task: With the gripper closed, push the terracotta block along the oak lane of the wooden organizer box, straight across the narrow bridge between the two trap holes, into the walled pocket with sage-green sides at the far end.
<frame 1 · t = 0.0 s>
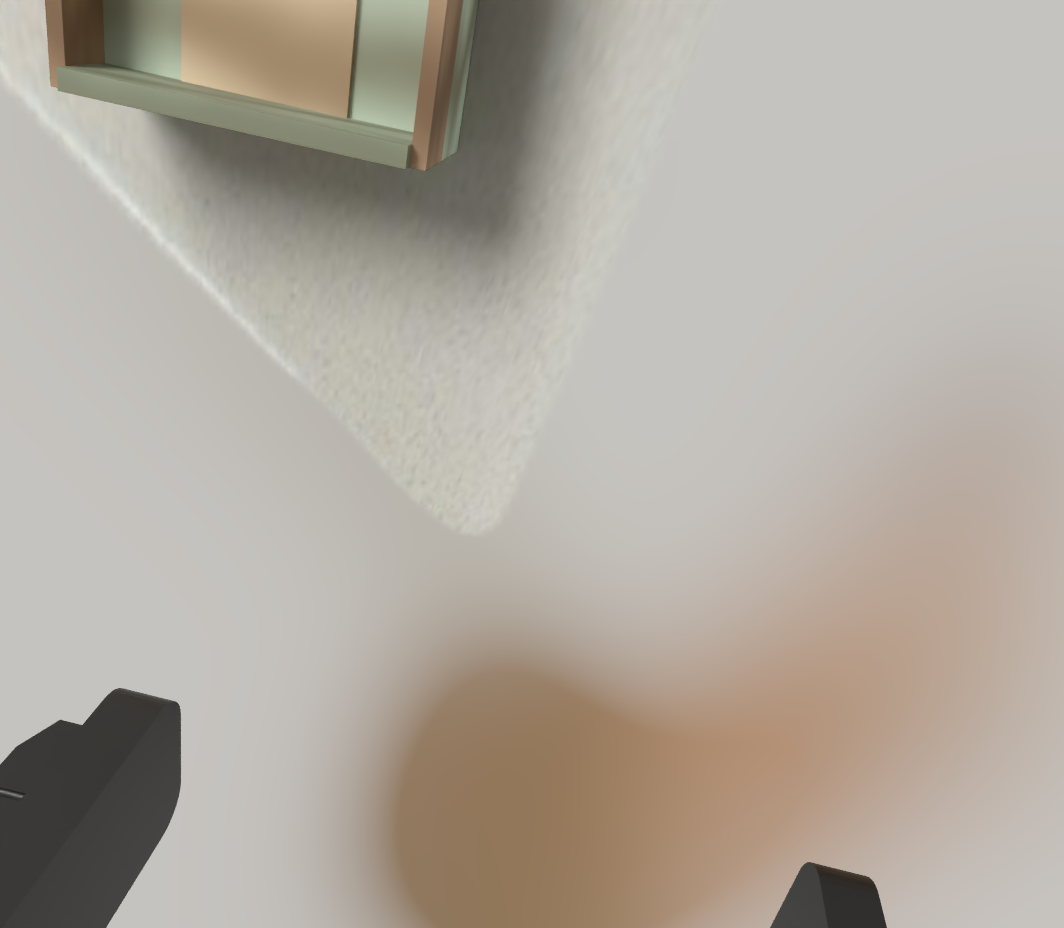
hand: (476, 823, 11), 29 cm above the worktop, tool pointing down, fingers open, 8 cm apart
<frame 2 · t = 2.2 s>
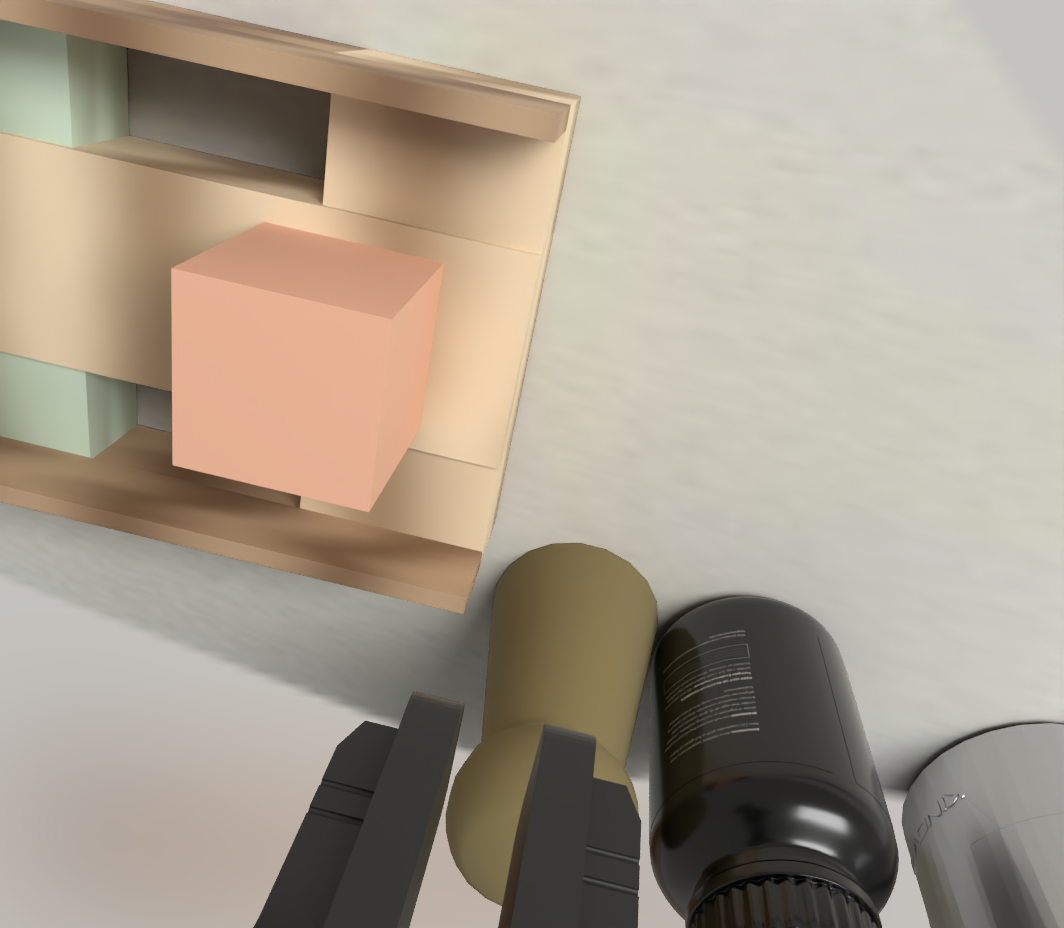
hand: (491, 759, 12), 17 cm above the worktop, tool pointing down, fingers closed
supplement bottle: (745, 662, 32), on the worktop
cork: (575, 610, 32), on the worktop
block: (345, 329, 25), point 3 cm above the worktop, touching wooden organizer box
wooden organizer box: (223, 263, 27), on the worktop
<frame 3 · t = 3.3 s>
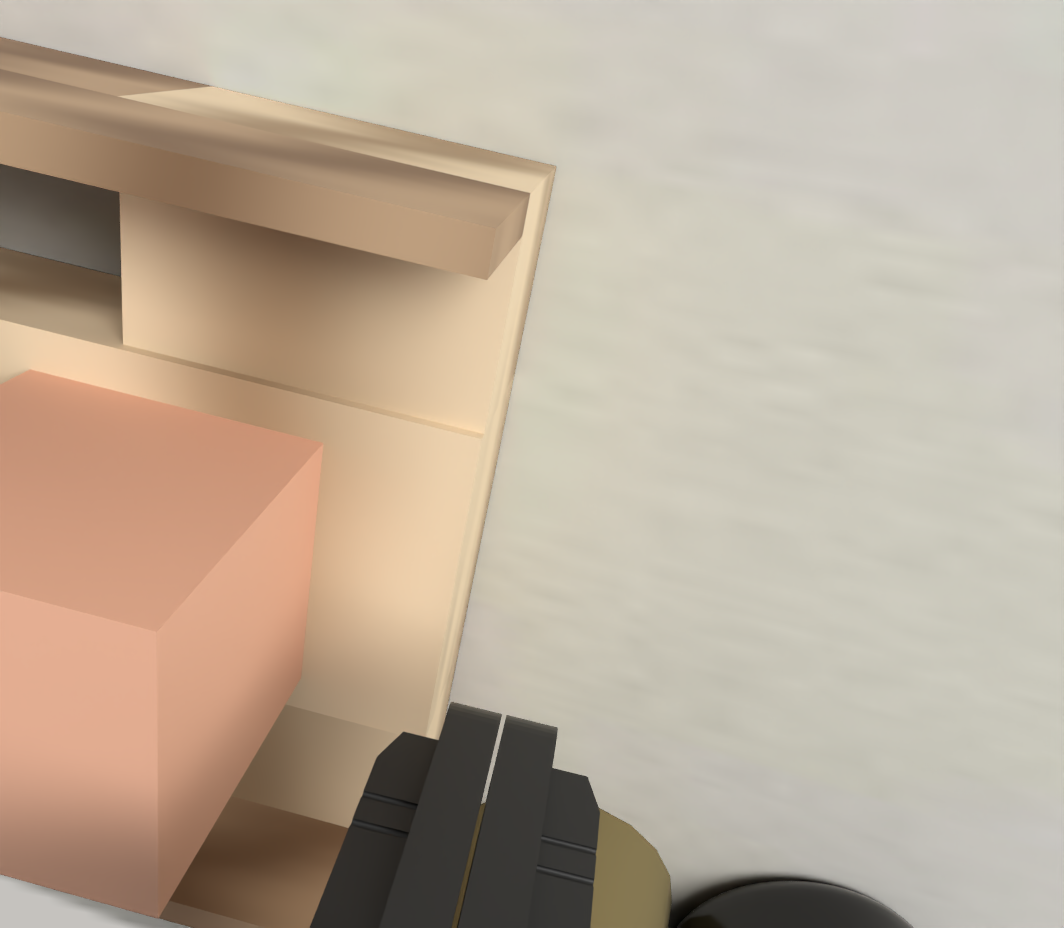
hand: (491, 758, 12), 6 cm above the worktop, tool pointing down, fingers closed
cork: (552, 876, 22), on the worktop
block: (174, 534, 15), point 3 cm above the worktop, touching wooden organizer box
wooden organizer box: (21, 402, 18), on the worktop
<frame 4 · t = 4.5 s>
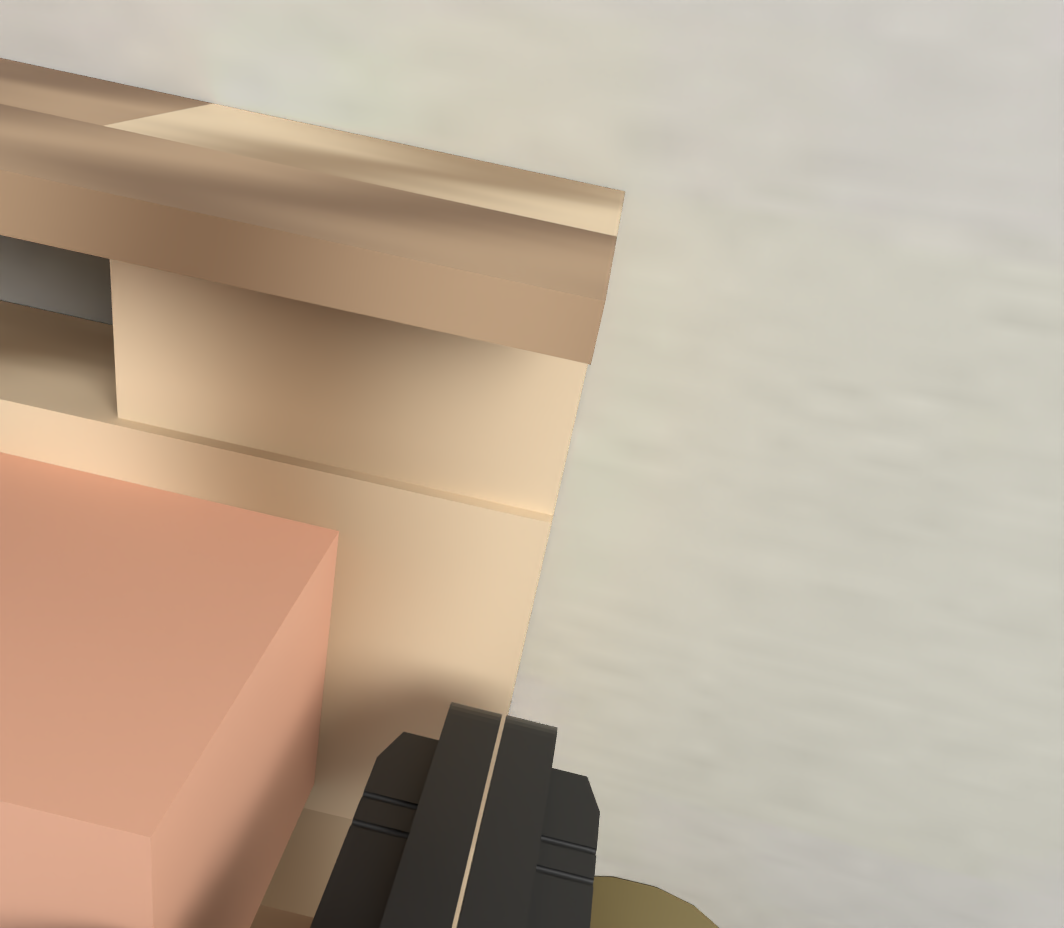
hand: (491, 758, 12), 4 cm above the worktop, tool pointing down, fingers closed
block: (164, 630, 13), point 3 cm above the worktop, touching gripper
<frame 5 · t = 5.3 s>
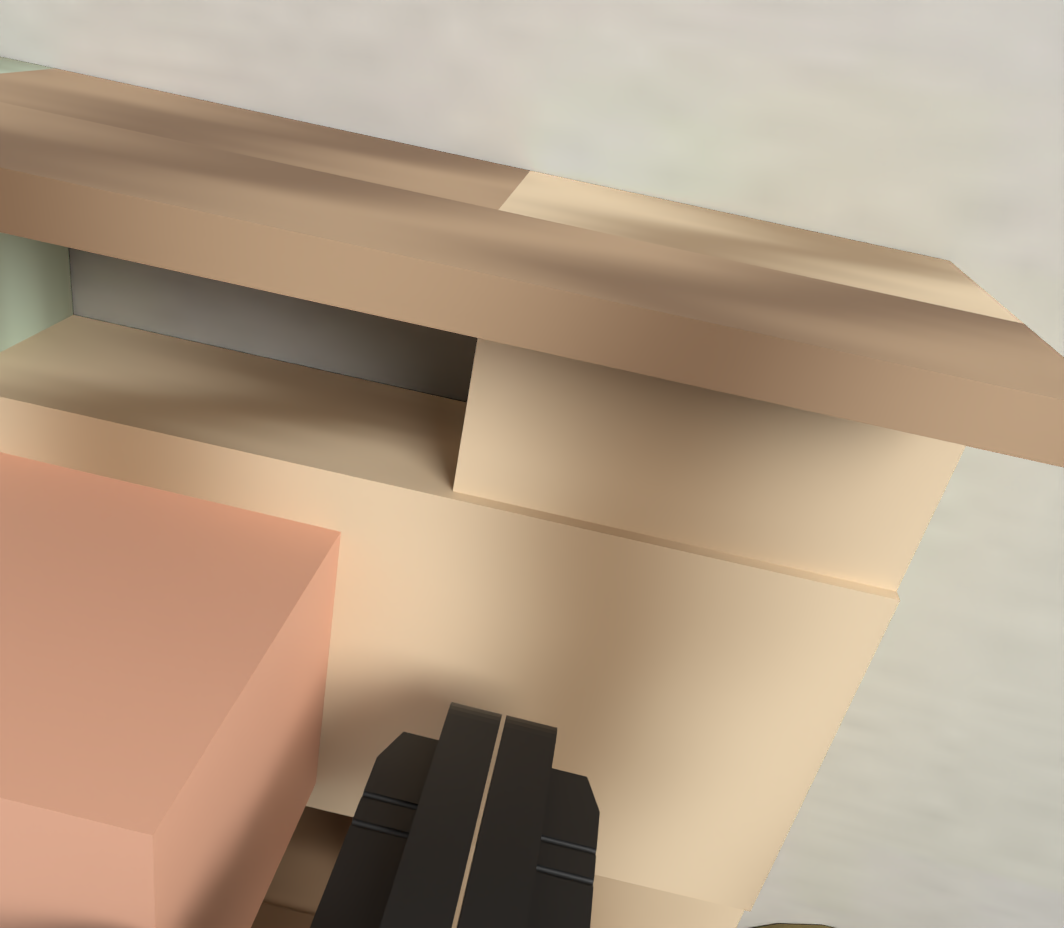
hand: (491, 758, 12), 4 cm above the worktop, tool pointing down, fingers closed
block: (167, 630, 13), point 3 cm above the worktop, touching wooden organizer box, gripper
wooden organizer box: (245, 520, 16), on the worktop
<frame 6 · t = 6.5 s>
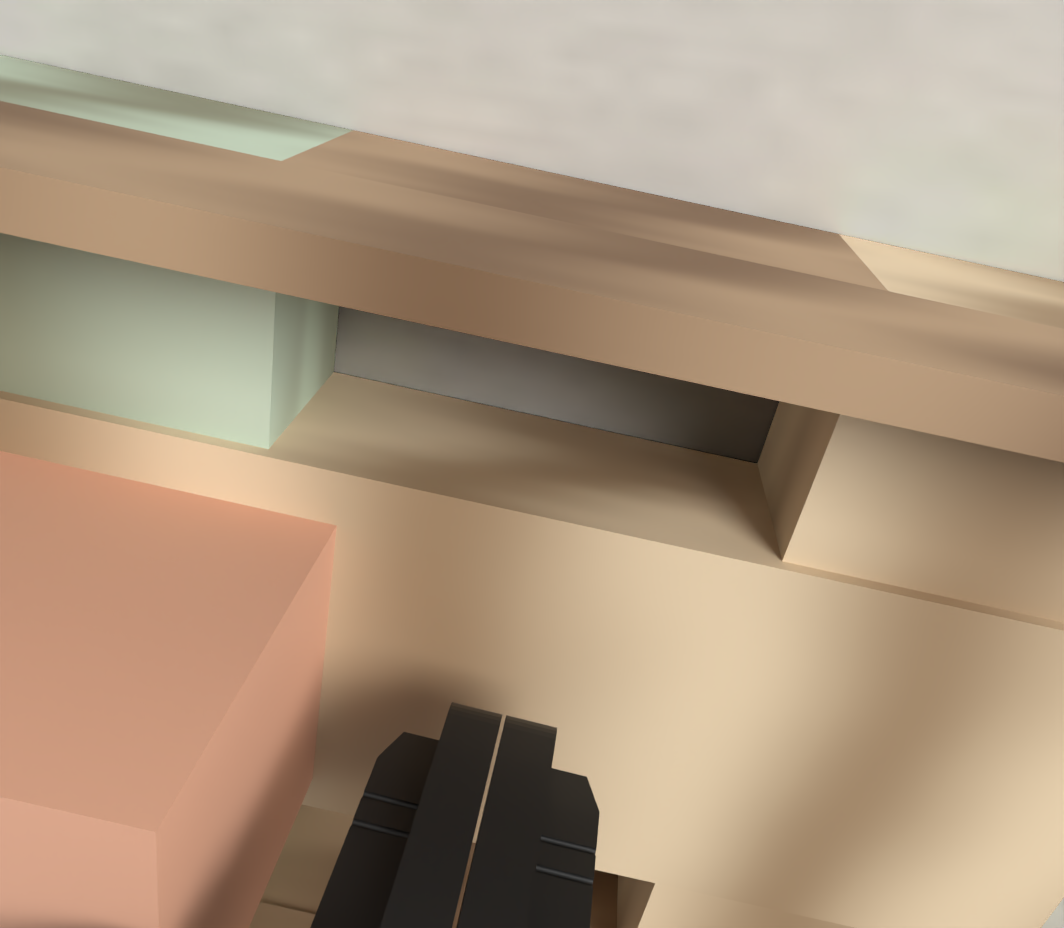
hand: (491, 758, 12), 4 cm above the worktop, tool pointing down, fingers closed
block: (161, 627, 13), point 3 cm above the worktop, touching wooden organizer box, gripper
wooden organizer box: (483, 572, 16), on the worktop
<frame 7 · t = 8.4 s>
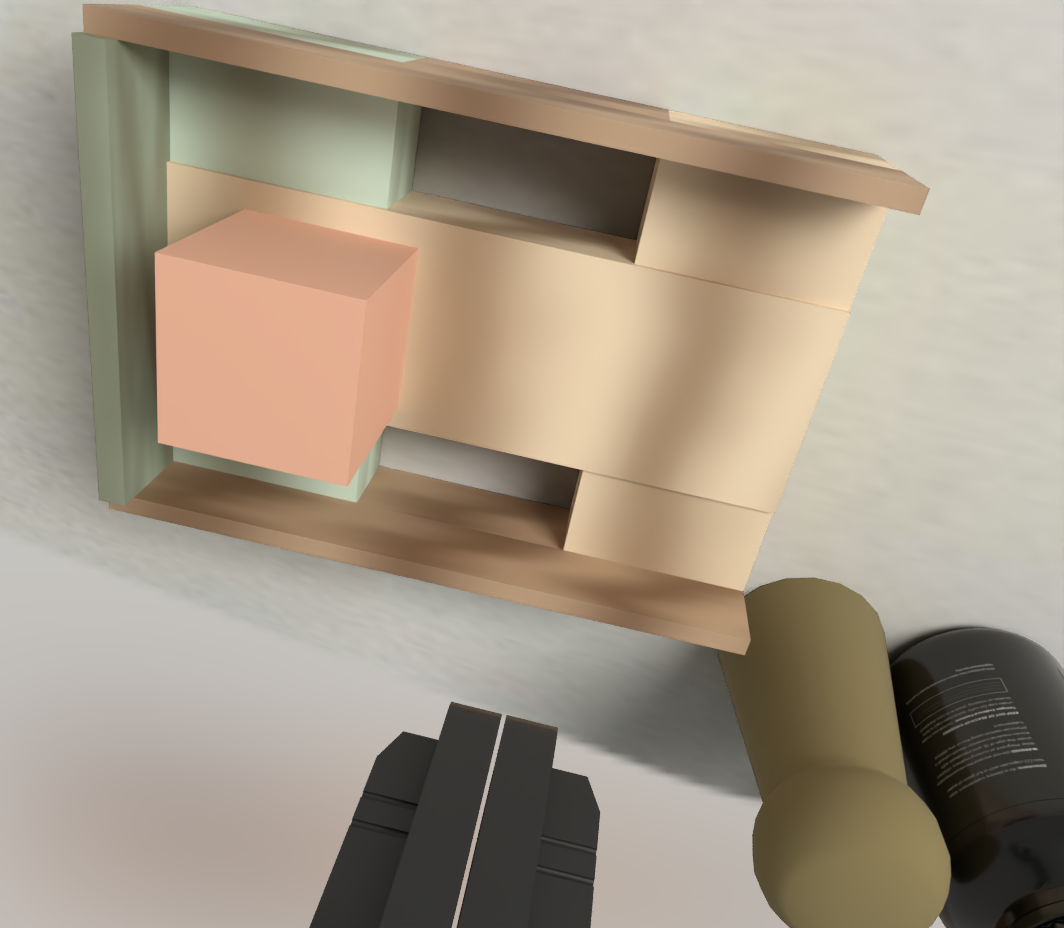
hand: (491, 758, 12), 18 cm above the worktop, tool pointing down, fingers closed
supplement bottle: (963, 690, 33), on the worktop
cork: (798, 641, 33), on the worktop
block: (324, 313, 25), point 3 cm above the worktop, touching wooden organizer box
wooden organizer box: (490, 312, 28), on the worktop
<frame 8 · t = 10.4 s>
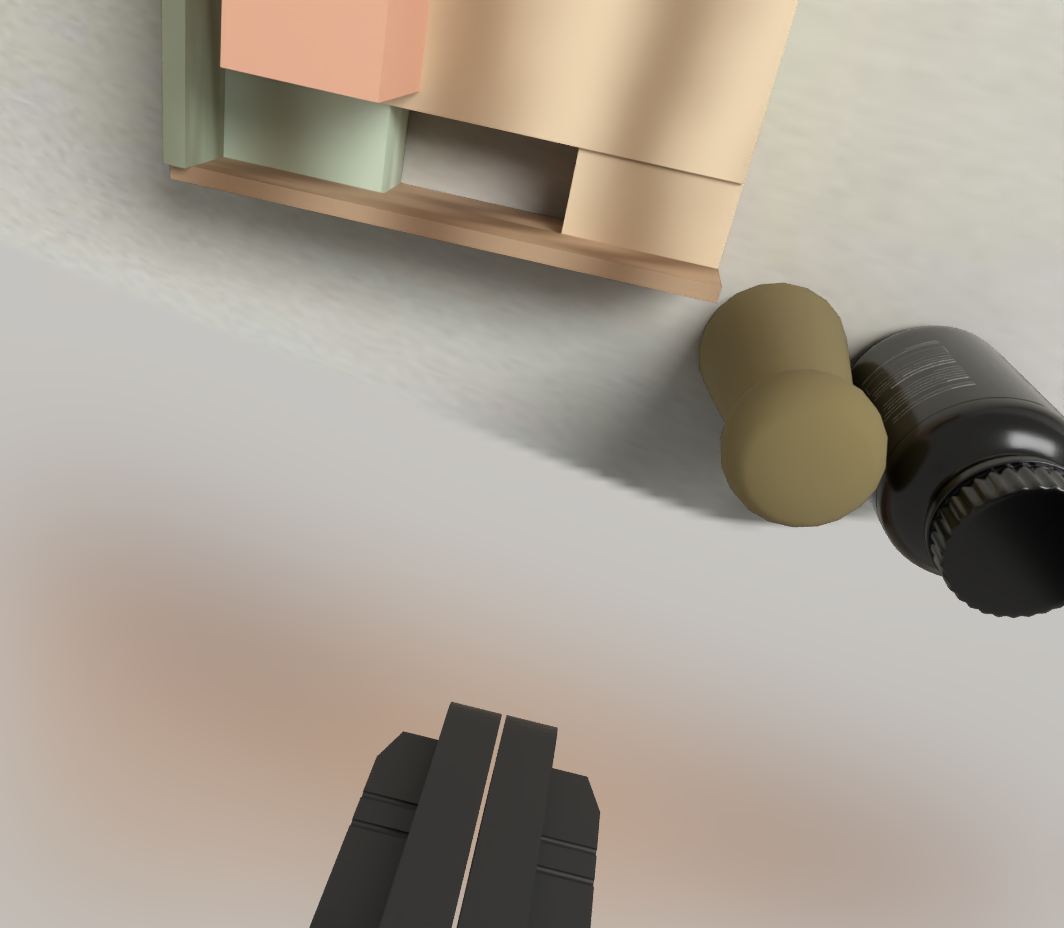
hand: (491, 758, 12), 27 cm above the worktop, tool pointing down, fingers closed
supplement bottle: (918, 397, 37), on the worktop
cork: (771, 352, 37), on the worktop
wooden organizer box: (499, 22, 32), on the worktop
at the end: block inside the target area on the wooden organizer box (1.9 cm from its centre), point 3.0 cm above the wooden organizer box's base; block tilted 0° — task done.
